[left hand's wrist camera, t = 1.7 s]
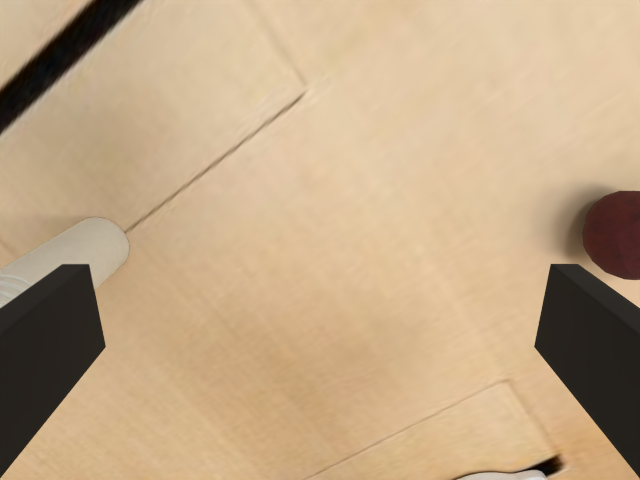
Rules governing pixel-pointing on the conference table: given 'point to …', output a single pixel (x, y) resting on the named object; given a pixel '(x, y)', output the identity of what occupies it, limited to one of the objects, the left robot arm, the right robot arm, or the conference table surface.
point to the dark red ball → (615, 234)
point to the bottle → (68, 256)
